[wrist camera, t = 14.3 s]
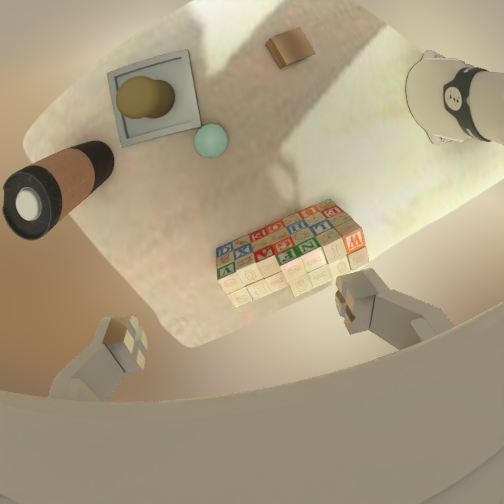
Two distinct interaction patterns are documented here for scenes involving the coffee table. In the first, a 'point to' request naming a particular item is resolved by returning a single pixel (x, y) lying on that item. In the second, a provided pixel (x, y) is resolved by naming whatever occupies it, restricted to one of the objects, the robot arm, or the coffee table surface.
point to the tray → (183, 111)
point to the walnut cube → (289, 47)
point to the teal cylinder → (210, 140)
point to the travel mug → (54, 187)
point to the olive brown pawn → (145, 98)
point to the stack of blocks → (292, 254)
